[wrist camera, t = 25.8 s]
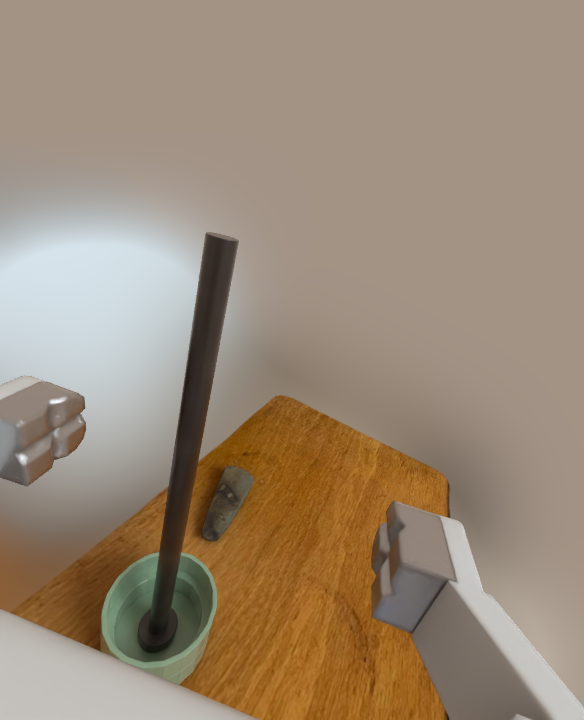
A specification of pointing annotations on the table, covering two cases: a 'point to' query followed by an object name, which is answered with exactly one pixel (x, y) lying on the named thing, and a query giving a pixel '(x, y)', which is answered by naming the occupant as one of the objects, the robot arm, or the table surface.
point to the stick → (189, 433)
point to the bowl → (135, 599)
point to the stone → (226, 501)
